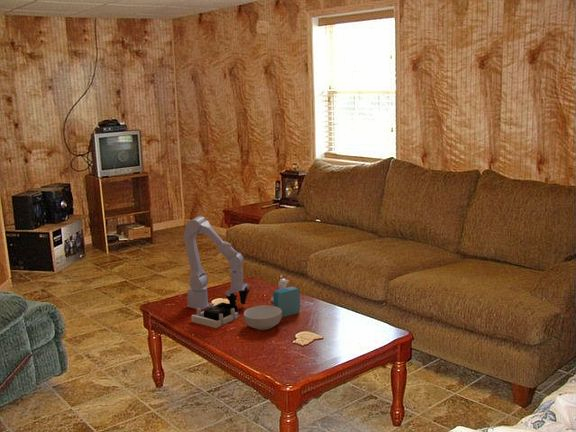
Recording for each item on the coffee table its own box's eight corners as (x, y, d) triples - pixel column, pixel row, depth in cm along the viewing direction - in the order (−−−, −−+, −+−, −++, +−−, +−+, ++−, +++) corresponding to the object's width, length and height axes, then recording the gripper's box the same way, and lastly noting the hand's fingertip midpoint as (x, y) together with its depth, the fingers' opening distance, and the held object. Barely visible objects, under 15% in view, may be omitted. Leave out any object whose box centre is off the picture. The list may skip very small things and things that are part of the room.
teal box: (294, 309, 301) (294, 285, 299) (300, 312, 298) (299, 288, 295) (273, 315, 295) (272, 291, 292) (279, 318, 291) (278, 293, 288)
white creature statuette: (284, 297, 319) (283, 274, 317) (296, 301, 313) (295, 277, 311) (270, 301, 313) (269, 278, 311) (281, 305, 307) (281, 282, 305)
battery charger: (219, 322, 289) (219, 314, 288) (204, 318, 294) (203, 310, 294) (238, 313, 299) (237, 305, 298) (222, 309, 305) (222, 302, 304)
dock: (191, 321, 290) (190, 311, 289) (214, 311, 302) (213, 301, 301) (216, 328, 281) (216, 317, 280) (238, 317, 293) (238, 307, 292)
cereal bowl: (260, 317, 293) (259, 302, 292) (289, 324, 284) (289, 309, 282) (236, 329, 280) (235, 314, 278) (266, 337, 270) (266, 321, 269)
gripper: (233, 284, 293) (234, 312, 296) (253, 276, 305) (254, 303, 308) (221, 281, 298) (223, 309, 300) (241, 273, 309) (243, 300, 312)
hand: (238, 306), depth 304 cm, fingers open, 7 cm apart
